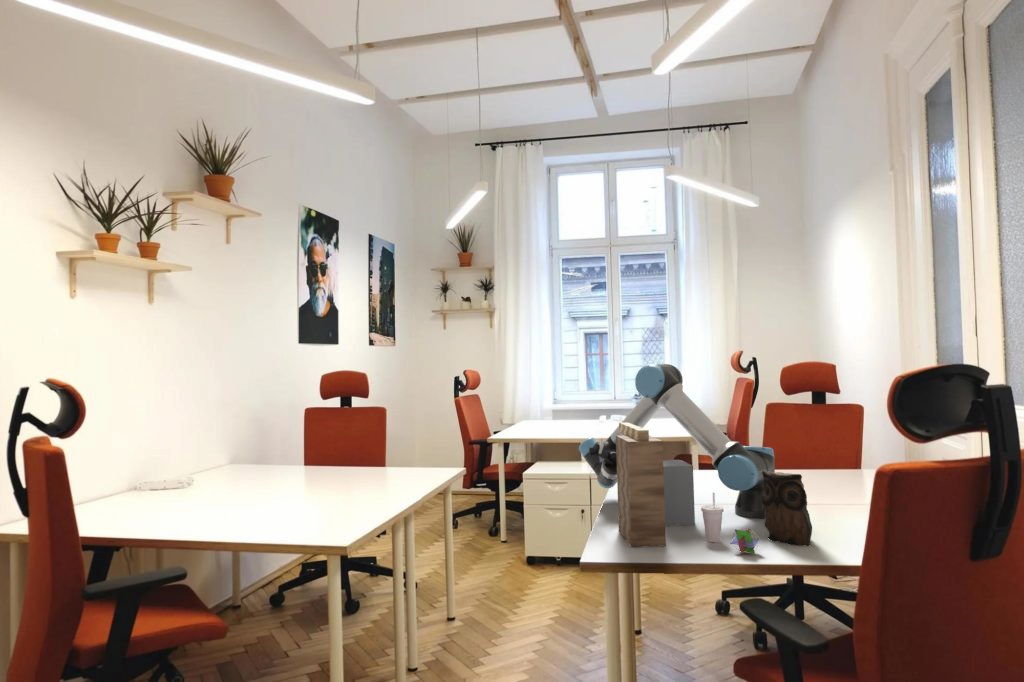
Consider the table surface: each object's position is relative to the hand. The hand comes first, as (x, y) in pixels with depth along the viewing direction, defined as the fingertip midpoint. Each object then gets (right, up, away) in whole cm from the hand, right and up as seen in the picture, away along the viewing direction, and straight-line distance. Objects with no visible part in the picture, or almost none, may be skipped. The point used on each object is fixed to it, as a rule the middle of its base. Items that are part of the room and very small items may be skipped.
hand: (622, 441), depth 223 cm
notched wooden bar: (+1, +4, -17) cm, 17 cm away
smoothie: (+22, -25, -29) cm, 44 cm away
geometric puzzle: (+27, -24, -43) cm, 56 cm away
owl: (+45, -24, -31) cm, 60 cm away
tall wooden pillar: (+2, -25, -25) cm, 36 cm away
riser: (+17, -26, -3) cm, 31 cm away
